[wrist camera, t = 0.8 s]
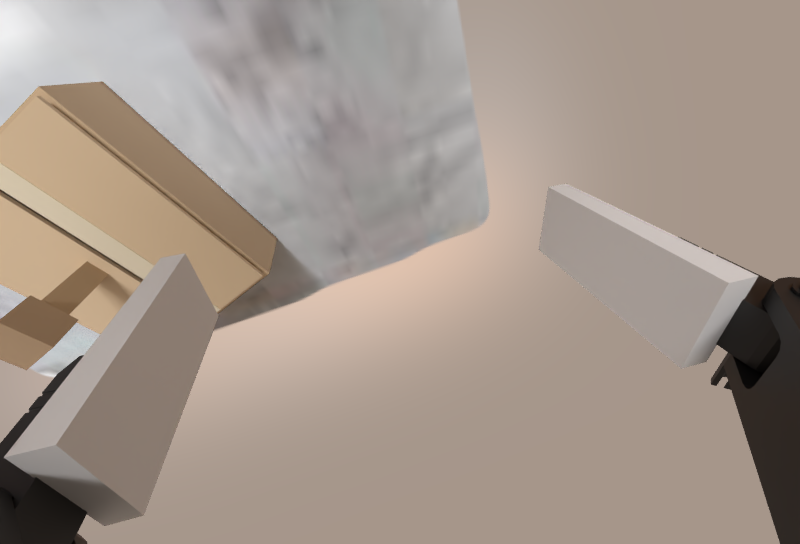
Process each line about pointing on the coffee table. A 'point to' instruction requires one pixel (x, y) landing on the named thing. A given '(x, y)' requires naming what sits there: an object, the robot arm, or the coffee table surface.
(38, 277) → the flap outer
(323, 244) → the coffee table surface
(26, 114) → the carton
